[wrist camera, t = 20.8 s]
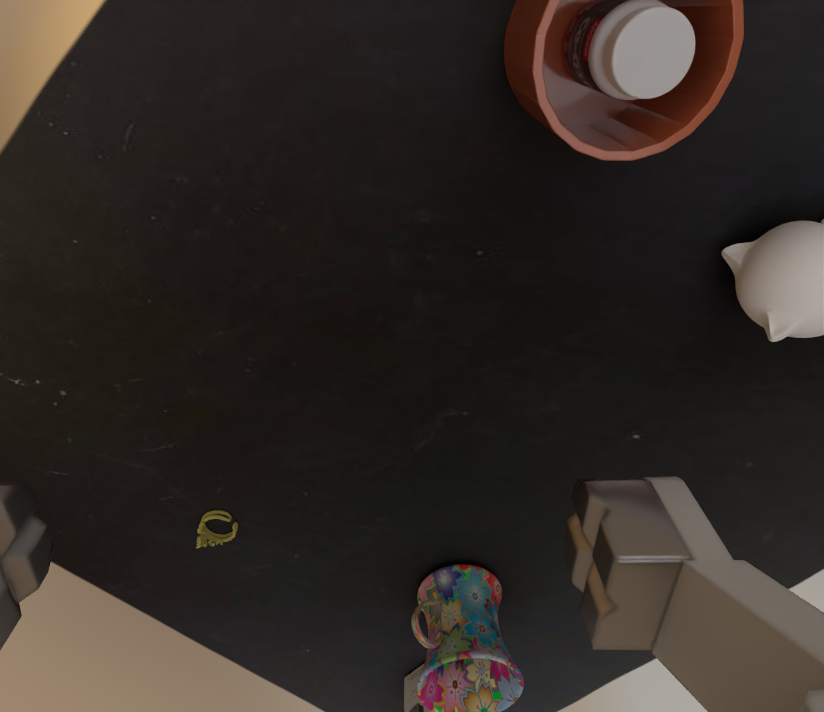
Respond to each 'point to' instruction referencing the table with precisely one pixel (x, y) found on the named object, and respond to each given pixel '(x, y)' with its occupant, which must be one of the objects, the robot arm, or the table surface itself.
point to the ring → (206, 532)
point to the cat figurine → (782, 279)
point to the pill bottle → (629, 48)
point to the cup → (609, 117)
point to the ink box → (413, 693)
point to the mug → (464, 643)
